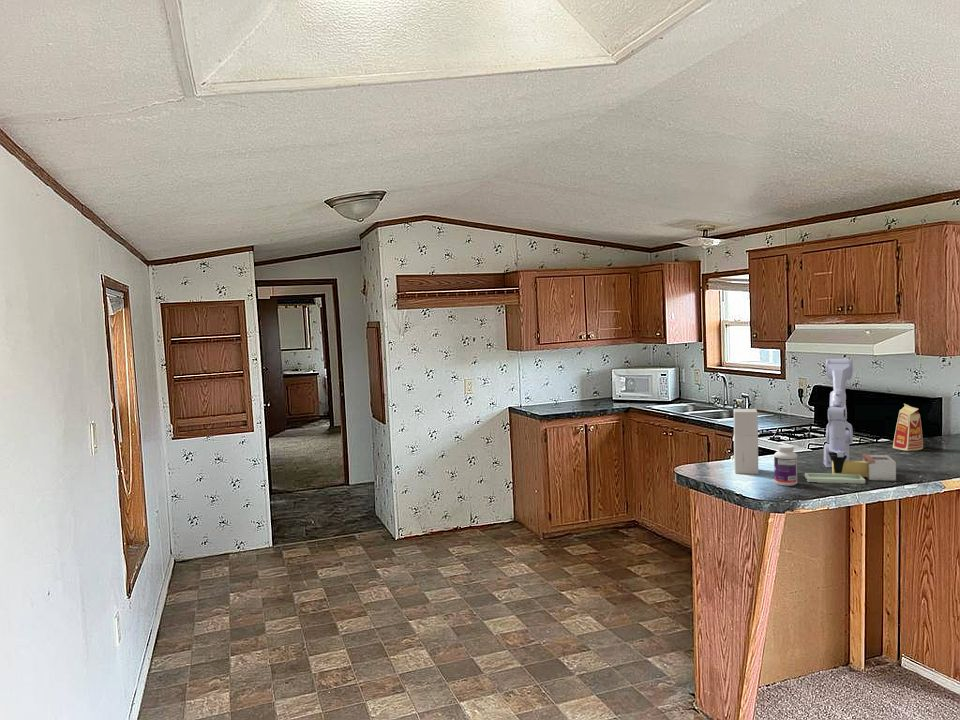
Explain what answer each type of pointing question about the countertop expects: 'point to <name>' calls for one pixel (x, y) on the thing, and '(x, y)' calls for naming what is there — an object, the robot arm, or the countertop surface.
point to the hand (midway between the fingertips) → (837, 471)
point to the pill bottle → (785, 466)
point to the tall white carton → (746, 441)
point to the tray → (835, 478)
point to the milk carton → (908, 430)
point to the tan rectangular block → (853, 468)
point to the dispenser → (880, 467)
